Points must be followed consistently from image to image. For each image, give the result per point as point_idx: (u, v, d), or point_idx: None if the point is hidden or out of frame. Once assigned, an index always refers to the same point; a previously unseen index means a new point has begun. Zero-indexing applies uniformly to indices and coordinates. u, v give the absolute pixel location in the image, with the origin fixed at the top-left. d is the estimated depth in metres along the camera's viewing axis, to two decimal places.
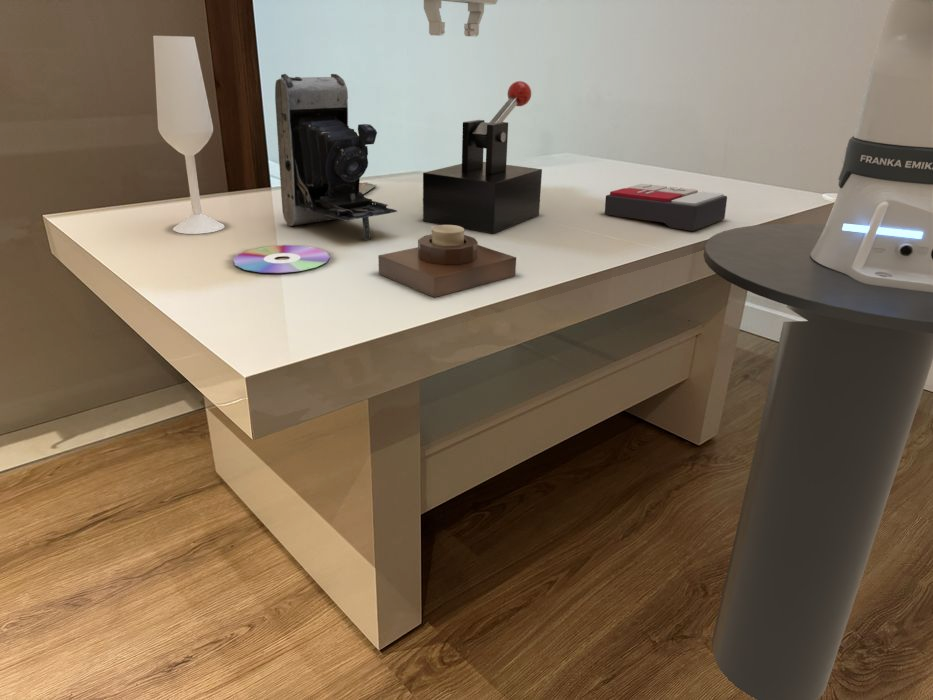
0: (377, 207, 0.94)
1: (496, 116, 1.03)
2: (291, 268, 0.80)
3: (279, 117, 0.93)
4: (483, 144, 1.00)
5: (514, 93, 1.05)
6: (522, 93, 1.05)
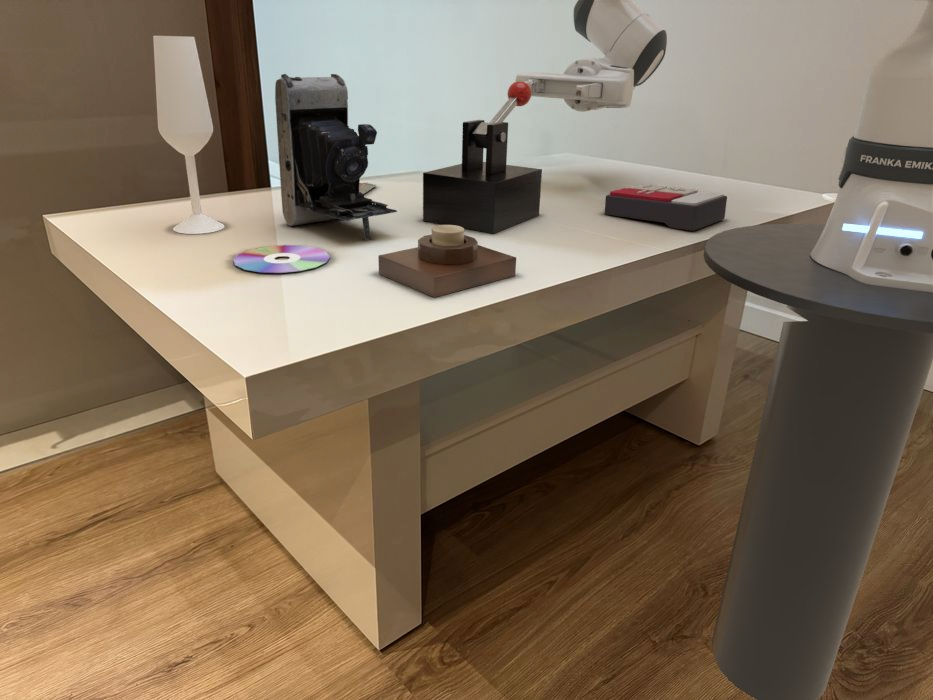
0: (377, 207, 0.94)
1: (496, 116, 1.03)
2: (291, 268, 0.80)
3: (279, 117, 0.93)
4: (483, 144, 1.00)
5: (514, 93, 1.05)
6: (522, 93, 1.05)
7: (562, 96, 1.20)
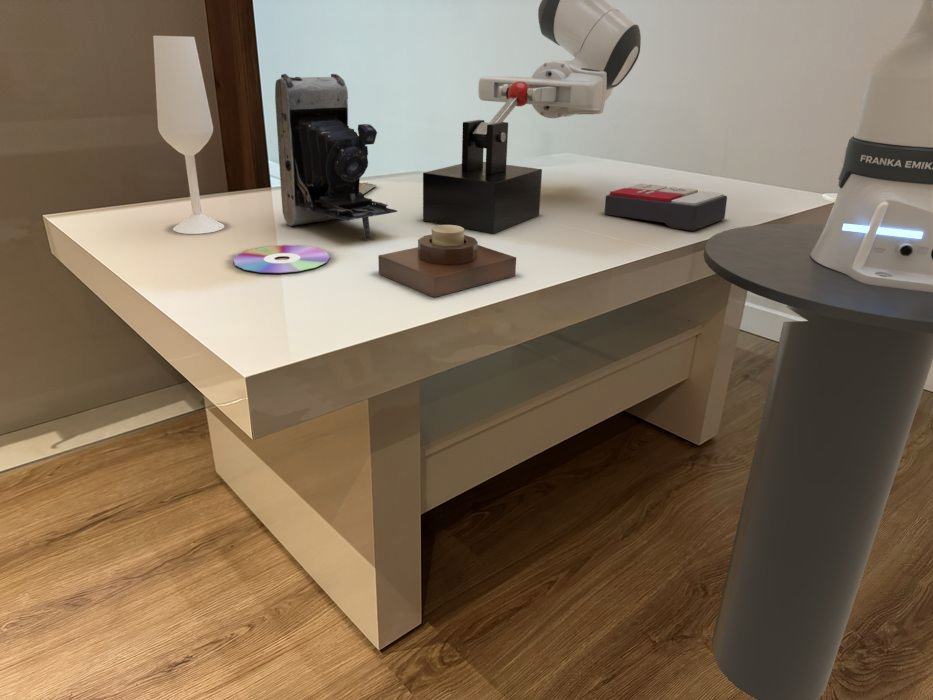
0: (377, 207, 0.94)
1: (496, 116, 1.03)
2: (291, 268, 0.80)
3: (279, 117, 0.93)
4: (483, 144, 1.00)
5: (514, 93, 1.05)
6: (522, 93, 1.05)
7: None
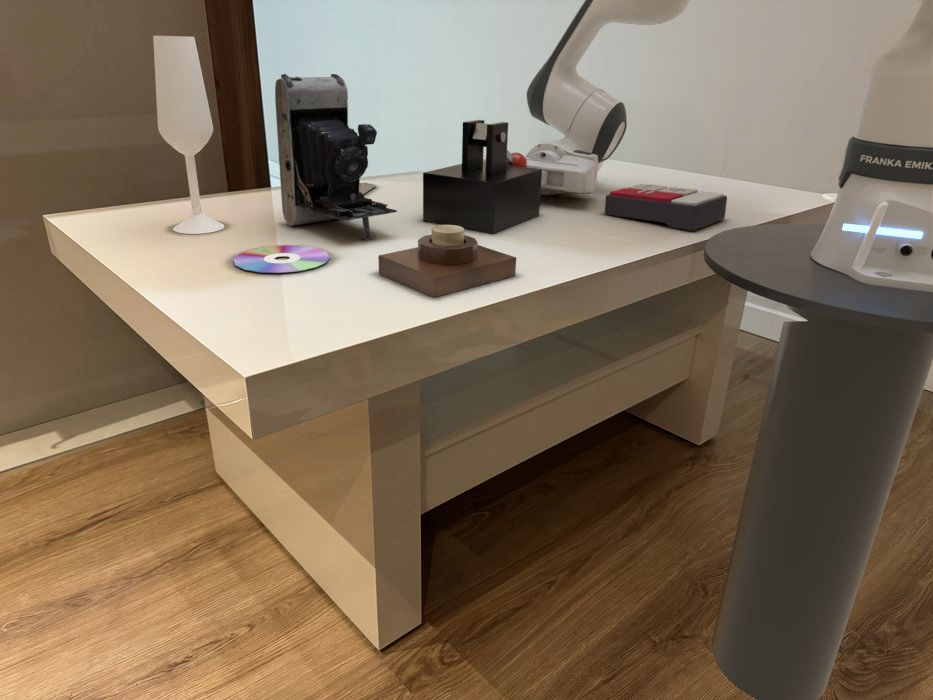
0: (377, 207, 0.94)
1: None
2: (291, 268, 0.80)
3: (279, 117, 0.93)
4: (481, 135, 0.99)
5: (513, 155, 1.09)
6: (521, 158, 1.09)
7: None
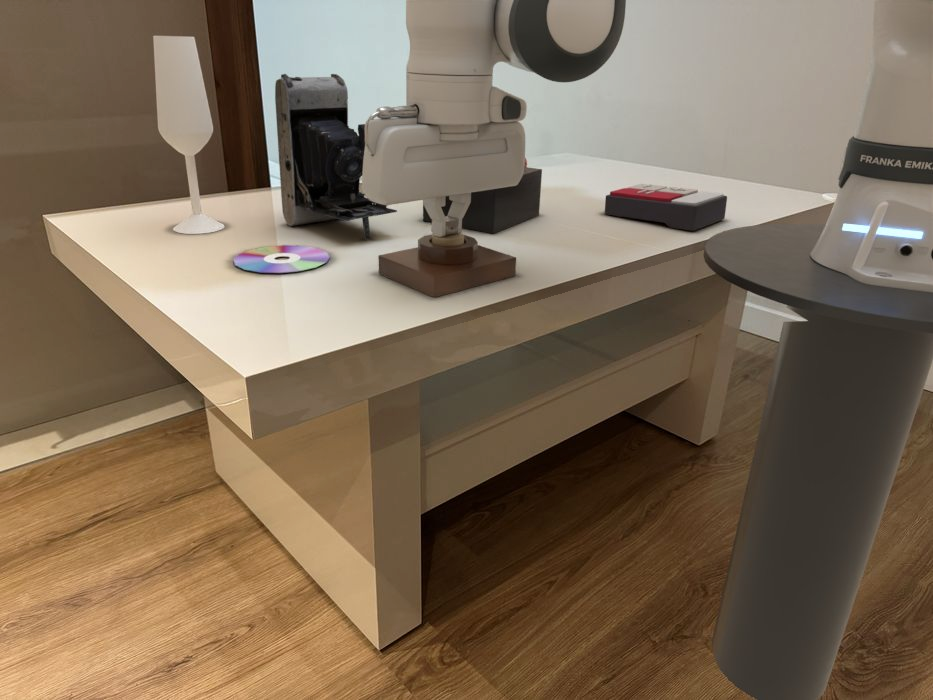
0: (377, 207, 0.94)
1: None
2: (291, 268, 0.80)
3: (279, 117, 0.93)
4: None
5: None
6: None
7: None
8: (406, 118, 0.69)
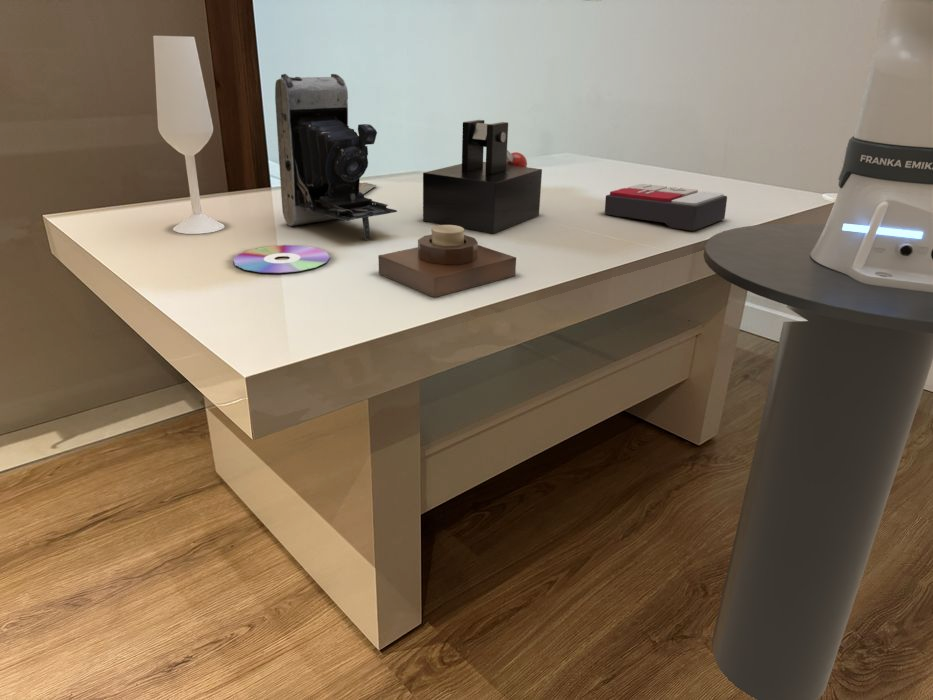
0: (377, 207, 0.94)
1: None
2: (291, 268, 0.80)
3: (279, 117, 0.93)
4: (481, 135, 0.99)
5: (514, 154, 1.09)
6: (521, 157, 1.09)
7: None
8: None
